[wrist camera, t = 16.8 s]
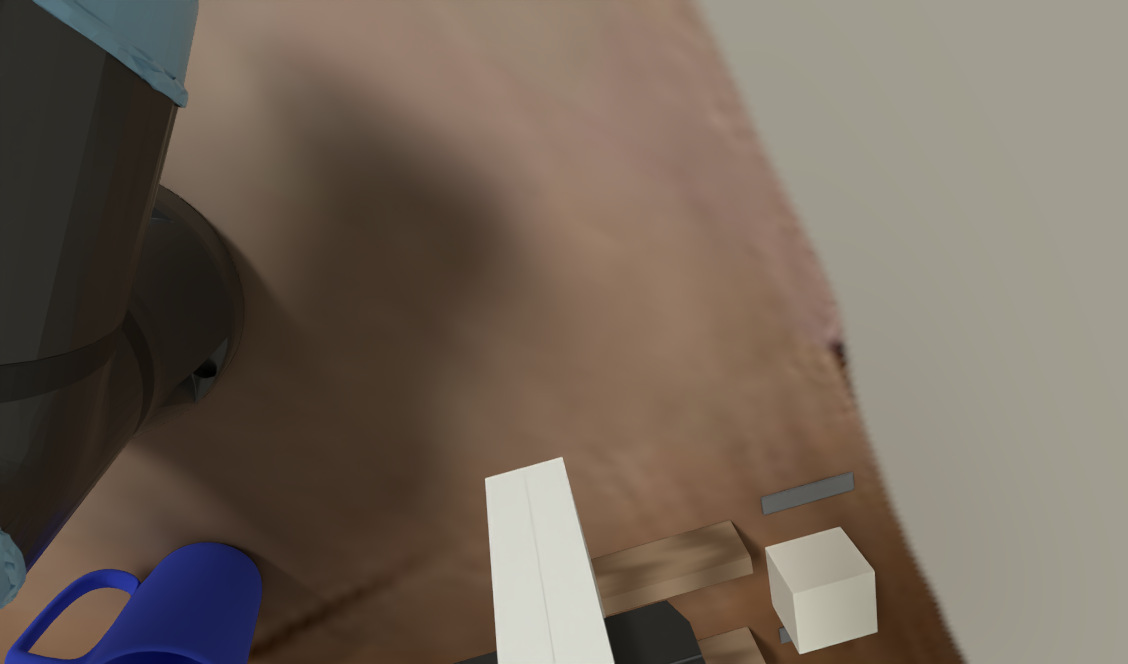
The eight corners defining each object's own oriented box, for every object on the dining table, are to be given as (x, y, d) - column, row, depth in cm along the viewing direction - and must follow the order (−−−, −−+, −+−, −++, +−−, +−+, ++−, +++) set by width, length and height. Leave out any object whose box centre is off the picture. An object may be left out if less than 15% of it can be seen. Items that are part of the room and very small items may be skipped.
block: (771, 604, 57) (799, 654, 52) (764, 546, 54) (792, 594, 50) (843, 583, 57) (877, 632, 52) (839, 525, 54) (874, 571, 50)
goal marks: (780, 641, 58) (781, 643, 58) (760, 497, 52) (761, 499, 52) (861, 618, 58) (863, 620, 58) (851, 471, 52) (852, 473, 52)
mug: (94, 498, 44) (2, 619, 35) (290, 541, 48) (252, 663, 39) (72, 596, 47) (-19, 733, 38) (259, 632, 50) (217, 765, 41)
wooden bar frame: (550, 746, 59) (557, 793, 56) (493, 587, 52) (496, 629, 48) (757, 685, 60) (777, 728, 56) (730, 520, 52) (750, 556, 49)
